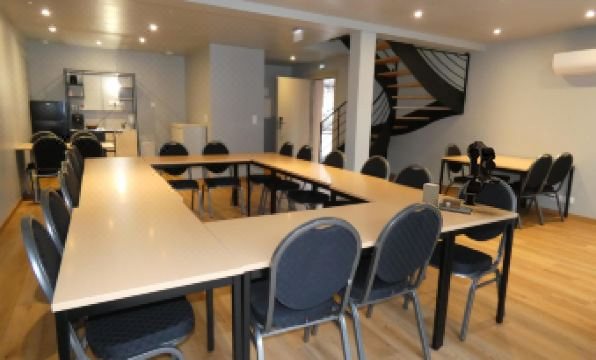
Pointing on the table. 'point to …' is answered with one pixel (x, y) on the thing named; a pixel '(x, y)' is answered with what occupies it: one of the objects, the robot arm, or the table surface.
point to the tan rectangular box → (452, 203)
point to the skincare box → (431, 193)
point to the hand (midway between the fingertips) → (480, 192)
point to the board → (462, 209)
